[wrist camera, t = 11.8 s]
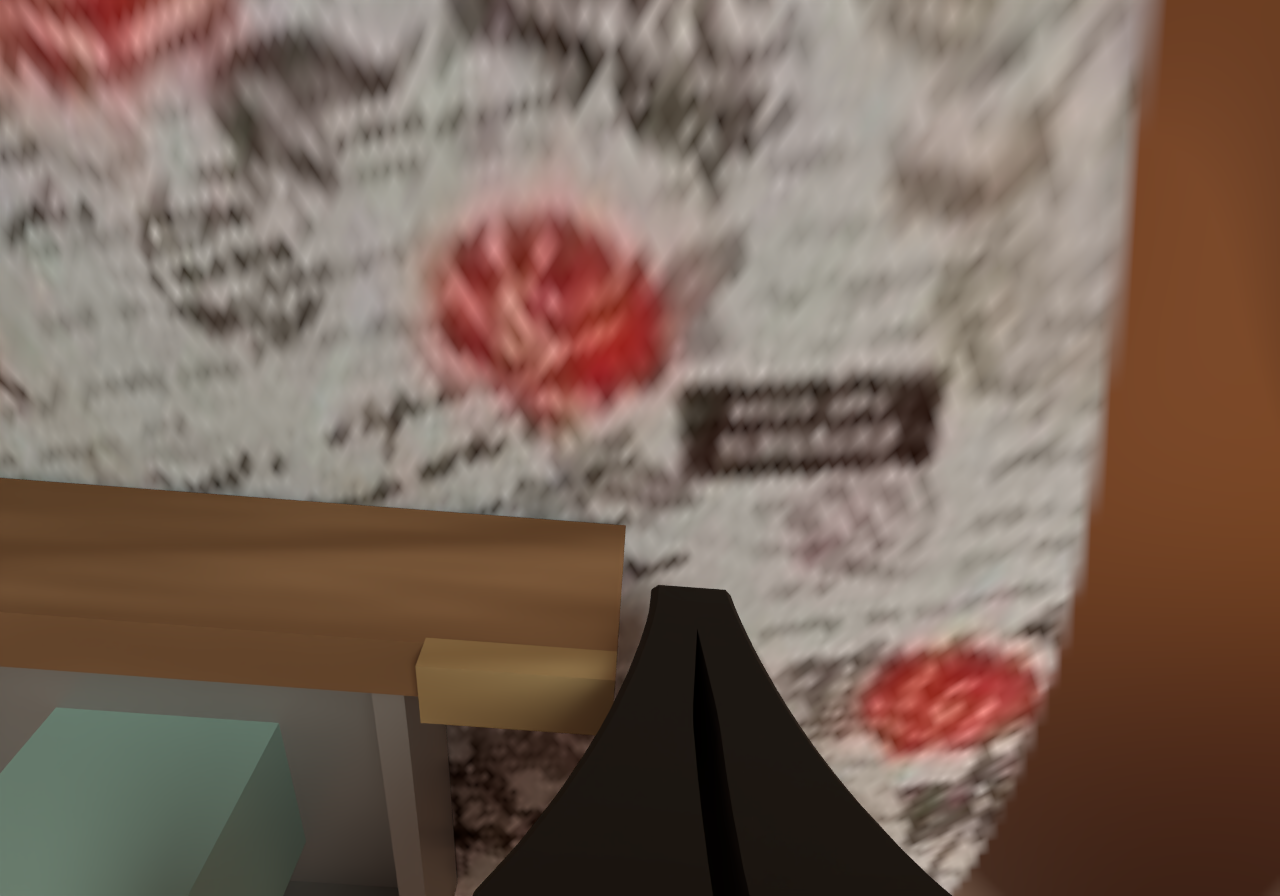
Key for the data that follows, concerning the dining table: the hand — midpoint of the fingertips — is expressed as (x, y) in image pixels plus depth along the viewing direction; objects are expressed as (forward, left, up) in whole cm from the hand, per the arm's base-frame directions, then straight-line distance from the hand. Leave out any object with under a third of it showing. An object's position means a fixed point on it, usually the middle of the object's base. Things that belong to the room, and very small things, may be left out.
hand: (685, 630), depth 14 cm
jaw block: (+8, -11, -2) cm, 14 cm away
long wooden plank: (0, -9, -2) cm, 9 cm away
